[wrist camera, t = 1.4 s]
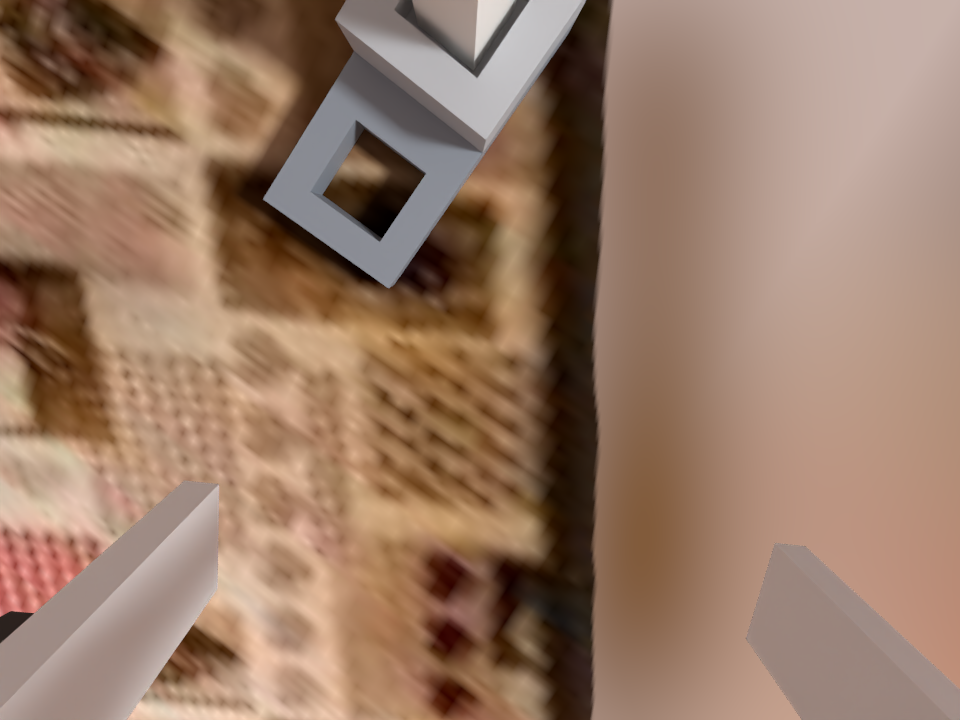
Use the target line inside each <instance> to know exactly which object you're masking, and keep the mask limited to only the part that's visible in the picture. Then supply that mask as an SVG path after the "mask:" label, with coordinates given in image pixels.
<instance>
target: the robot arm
mask: <svg viewBox="0 0 960 720" xmlns="http://www.w3.org/2000/svg"><path fill="white" fill-rule="evenodd" d="M218 518H219V484H212V483H203V482H193V481H183V482H182V483H181V484H180V485H179V486H178V487H176V488H175V489H174V490H173V491H172V492H171V493H170V494H169V495H167V496H166V497H165V498H164V499H163V500H162V501H161V502H160V503H158V504H157V505H156V506H155V507H154V508H153V509H152V510H151V511H149V512H148V513H147V514H146V515H145V516H144V517H143V518H141V519H140V520H139V521H138V522H137V523H136V524H135V525H134V526H132V527H131V528H130V529H129V530H128V531H127V532H126V533H125V534H123V535H122V536H121V537H120V538H119V539H118V540H117V541H115V542H114V543H113V544H112V545H111V546H110V547H109V548H108V549H106V550H105V551H104V552H103V553H102V554H101V555H100V556H99V557H97V558H96V559H95V560H94V561H93V562H92V563H91V564H89V565H88V566H87V567H86V568H85V569H84V570H83V571H82V572H80V573H79V574H78V575H77V576H76V577H75V578H74V579H73V580H71V581H70V582H69V583H68V584H67V585H66V586H65V587H64V588H62V589H61V590H60V591H59V592H58V593H57V594H56V595H54V596H53V597H52V598H51V599H50V600H49V601H48V602H47V603H45V604H44V605H43V606H42V607H41V608H40V609H39V610H38V611H36V612H35V613H24V612H13V611H11V612H9V613H7V614H5V615H3V616H1V617H0V720H127V719H128V717H129V716H130V714H131V713H132V711H133V710H134V708H135V707H136V706H137V704H138V703H139V701H140V700H141V698H142V697H143V696H144V694H145V693H146V691H147V690H148V688H149V687H150V685H151V684H152V683H153V681H154V680H155V678H156V677H157V675H158V674H159V672H160V671H161V670H162V668H163V667H164V665H165V664H166V662H167V661H168V659H169V658H170V657H171V655H172V654H173V652H174V651H175V649H176V648H177V647H178V645H179V644H180V642H181V641H182V639H183V638H184V636H185V635H186V634H187V632H188V631H189V629H190V628H191V626H192V625H193V623H194V622H195V621H196V619H197V618H198V616H199V615H200V613H201V612H202V610H203V609H204V608H205V606H206V605H207V603H208V602H209V600H210V599H211V598H212V596H213V595H214V593H215V592H216V590H217V583H218ZM746 639H747V641H748V643H749V644H750V645H751V647H752V648H753V650H754V651H755V653H756V654H757V656H758V657H759V658H760V660H761V661H762V663H763V664H764V666H765V667H766V669H767V670H768V671H769V673H770V674H771V676H772V677H773V679H774V680H775V682H776V683H777V685H778V686H779V687H780V689H781V690H782V692H783V693H784V695H785V696H786V698H787V699H788V700H789V702H790V703H791V705H792V706H793V707H794V709H795V711H796V712H797V714H798V715H799V716H800V718H801V719H802V720H960V689H959V688H958V687H957V686H956V685H955V684H954V683H953V682H951V681H950V680H949V679H948V678H947V677H946V676H945V675H944V674H943V673H942V672H941V671H939V669H937V668H936V667H935V666H934V665H933V664H932V663H931V662H930V661H929V660H928V659H927V658H925V657H924V656H923V655H922V654H921V653H920V652H919V651H918V650H917V649H916V648H914V646H912V645H911V644H910V643H909V642H908V641H907V640H906V639H905V638H904V637H903V636H902V635H901V634H900V633H898V632H897V631H896V630H895V629H894V628H893V627H892V626H891V625H890V624H889V623H888V622H887V621H885V620H884V619H883V618H882V617H881V616H880V615H879V614H878V613H877V612H876V611H875V610H874V609H873V608H871V607H870V606H869V605H868V604H867V603H866V602H865V601H864V600H863V599H861V598H860V597H859V596H858V595H857V594H856V593H855V592H854V591H853V590H852V589H851V588H850V587H849V586H848V585H847V584H845V583H844V582H843V581H842V580H841V579H840V578H839V577H838V576H837V575H836V574H835V573H834V572H832V571H831V570H830V569H829V568H828V567H827V566H826V565H825V564H824V563H823V562H822V561H821V560H820V559H818V558H817V557H816V556H815V555H814V554H813V553H812V552H811V551H810V550H809V549H808V548H807V547H805V546H798V545H788V544H779V543H775V545H774V548H773V551H772V554H771V558H770V561H769V565H768V568H767V571H766V574H765V578H764V581H763V585H762V588H761V591H760V594H759V597H758V601H757V604H756V608H755V611H754V614H753V617H752V620H751V624H750V627H749V630H748V634H747V637H746Z"/></svg>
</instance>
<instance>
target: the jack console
mask: <svg viewBox="0 0 960 720" xmlns="http://www.w3.org/2000/svg"><path fill="white" fill-rule="evenodd" d="M585 1H586V0H517V1H516V5H515V9H514V11H513V12H512V14H511V15H510V17H509V18H508V20H507V21H506V23H505V24H504V26H503V27H502V29H501V30H500V32H499V33H498V35H497V36H496V38H495V39H494V41H493V42H492V44H491V45H490V47H489V48H488V50H487V51H486V53H485V54H484V56H483V57H482V59H481V60H480V62H479V63H478V65H477V66H476V68H475V69H474V71H473V70H472V69H471V68H469V67H468V66H467V65H466V64H465V63H463V62H462V61H461V60H460V59H458V58H457V57H456V56H455V55H454V54H452V53H451V52H450V51H449V50H448V49H446V48H445V47H444V46H443V45H441V44H440V43H439V42H438V41H437V40H435V39H434V38H433V37H432V36H430V35H429V34H428V33H427V32H426V31H424V30H423V29H422V28H421V27H420V26H418V24H417V20H416V15H415V11H414V6H413V2H412V0H346V1H345V3H344V5H343V6H342V8H341V10H340V11H339V13H338V15H337V16H336V18H335V20H336V22H337V24H338V25H339V27H340V29H341V30H342V32H343V34H344V35H345V37H346V39H347V40H348V42H349V44H350V45H351V47H352V49H353V50H354V52H353V54H352V55H351V57H350V59H349V60H348V62H347V63H346V65H345V67H344V68H343V70H342V72H341V73H340V75H339V76H338V78H337V80H336V81H335V83H334V85H333V86H332V88H331V89H330V91H329V93H328V94H327V96H326V98H325V99H324V101H323V102H322V104H321V106H320V107H319V109H318V111H317V112H316V114H315V115H314V117H313V119H312V120H311V122H310V124H309V125H308V127H307V128H306V130H305V132H304V133H303V135H302V136H301V138H300V140H299V141H298V143H297V145H296V146H295V148H294V149H293V151H292V153H291V154H290V156H289V158H288V159H287V161H286V162H285V164H284V166H283V167H282V169H281V171H280V172H279V174H278V175H277V177H276V179H275V180H274V182H273V184H272V185H271V187H270V188H269V190H268V192H267V193H266V195H265V197H264V198H263V200H265V201H266V202H268V203H269V204H270V205H272V206H273V207H275V208H276V209H277V210H279V211H280V212H282V213H283V214H284V215H286V216H287V217H289V218H290V219H292V220H293V221H294V222H296V223H297V224H299V225H300V226H301V227H303V228H304V229H306V230H307V231H308V232H310V233H311V234H313V235H314V236H315V237H317V238H318V239H320V240H321V241H323V242H324V243H325V244H327V245H328V246H330V247H331V248H332V249H334V250H335V251H337V252H338V253H339V254H341V255H342V256H344V257H345V258H346V259H348V260H349V261H351V262H352V263H354V264H355V265H356V266H358V267H359V268H361V269H362V270H363V271H365V272H366V273H368V274H369V275H370V276H372V277H373V278H375V279H376V280H377V281H379V282H380V283H382V284H383V285H385V286H386V287H387V288H390V287H391V286H393V285H394V284H395V283H396V281H397V280H398V278H399V277H400V275H401V274H402V273H403V271H404V270H405V268H406V267H407V265H408V264H409V263H410V261H411V260H412V258H413V257H414V255H415V254H416V252H417V251H418V250H419V248H420V247H421V245H422V244H423V242H424V241H425V239H426V238H427V237H428V235H429V234H430V232H431V231H432V229H433V228H434V226H435V225H436V224H437V222H438V221H439V219H440V218H441V216H442V215H443V213H444V212H445V211H446V209H447V208H448V206H449V205H450V203H451V202H452V201H453V199H454V198H455V196H456V195H457V193H458V192H459V190H460V189H461V188H462V186H463V185H464V183H465V182H466V180H467V179H468V177H469V176H470V175H471V173H472V172H473V170H474V169H475V167H476V166H477V164H478V163H479V162H480V160H481V159H482V157H483V156H484V154H485V153H486V152H487V150H488V149H489V147H490V146H491V144H492V143H493V141H494V140H495V139H496V137H497V136H498V134H499V133H500V131H501V130H502V128H503V127H504V126H505V124H506V123H507V121H508V120H509V118H510V117H511V115H512V114H513V113H514V111H515V110H516V108H517V107H518V105H519V104H520V102H521V101H522V100H523V98H524V97H525V95H526V94H527V92H528V91H529V90H530V88H531V87H532V85H533V84H534V82H535V81H536V79H537V78H538V77H539V75H540V74H541V72H542V71H543V69H544V68H545V66H546V65H547V64H548V62H549V61H550V59H551V58H552V56H553V55H554V53H555V52H556V51H557V49H558V48H559V46H560V45H561V43H562V42H563V40H564V39H565V38H566V36H567V35H568V33H569V31H570V29H571V28H572V26H573V24H574V22H575V20H576V18H577V16H578V14H579V12H580V11H581V9H582V7H583V5H584V3H585ZM364 129H366V130H367V131H368V132H370V133H371V134H372V135H374V136H375V137H376V138H377V139H379V140H380V141H381V142H383V143H384V144H385V145H387V146H388V147H389V148H391V149H392V150H393V151H394V152H396V153H397V154H398V155H400V156H401V157H402V158H404V159H405V160H406V161H408V162H409V163H410V164H411V165H413V166H414V167H415V168H417V169H418V170H419V171H421V172H422V173H423V174H425V176H424V177H423V179H422V180H421V182H420V183H419V185H418V186H417V188H416V189H415V191H414V192H413V194H412V195H411V197H410V198H409V200H408V201H407V203H406V204H405V206H404V207H403V208H402V210H401V211H400V213H399V214H398V216H397V217H396V219H395V220H394V222H393V223H392V225H391V226H390V228H389V229H388V231H387V232H386V234H385V235H384V237H383V238H381V237H380V236H378V235H377V234H375V233H374V232H373V231H371V230H370V229H369V228H367V227H366V226H364V225H363V224H362V223H360V222H359V221H358V220H356V219H355V218H353V217H352V216H351V215H349V214H348V213H347V212H345V211H344V210H342V209H341V208H340V207H338V206H337V205H336V204H334V203H333V202H331V201H330V200H329V199H327V198H326V197H325V196H323V195H322V194H323V193H324V191H325V190H326V188H327V187H328V185H329V183H330V182H331V180H332V179H333V177H334V176H335V174H336V172H337V171H338V169H339V168H340V166H341V165H342V163H343V162H344V160H345V158H346V157H347V155H348V154H349V152H350V151H351V149H352V147H353V146H354V144H355V143H356V141H357V140H358V138H359V137H360V135H361V133H362V132H363V130H364Z"/></svg>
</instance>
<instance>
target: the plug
mask: <svg viewBox="0 0 960 720" xmlns="http://www.w3.org/2000/svg"><path fill="white" fill-rule="evenodd" d="M516 1H517V0H412V2H413V6H414V11H415V15H416V20H417V24H418V26H420V27H421V28H422V29H423V30H424V31H426V32H427V33H428V34H429V35H430V36H432V37H433V38H434V39H435V40H437V41H438V42H439V43H440V44H441V45H443V46H444V47H445V48H446V49H448V50H449V51H450V52H451V53H452V54H454V55H455V56H456V57H457V58H458V59H460V60H461V61H462V62H463V63H465V64H466V65H467V66H468V67H469V68H471V69H472V70H473V71H474V69H475V68H476V66H477V65H478V63H479V62H480V60H481V59H482V57H483V56H484V54H485V53H486V51H487V50H488V48H489V47H490V45H491V44H492V42H493V41H494V39H495V38H496V36H497V35H498V33H499V32H500V30H501V29H502V27H503V26H504V24H505V23H506V21H507V20H508V18H509V17H510V15H511V14H512V12H513V11H514V9H515V5H516Z"/></svg>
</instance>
